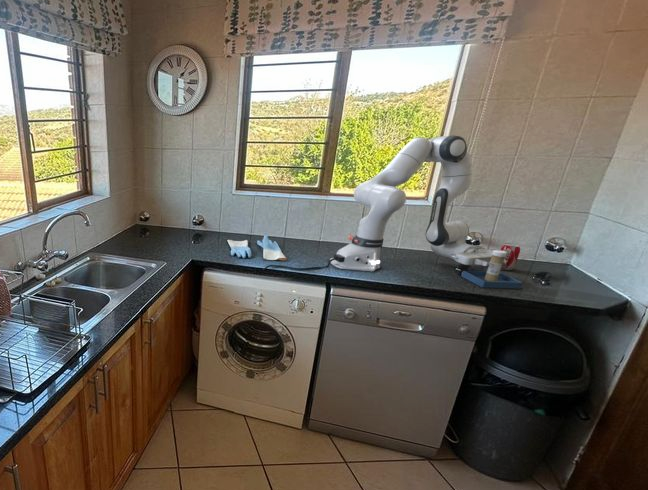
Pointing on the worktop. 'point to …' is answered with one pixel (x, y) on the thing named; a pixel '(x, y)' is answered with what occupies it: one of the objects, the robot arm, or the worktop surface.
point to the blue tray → (501, 282)
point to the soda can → (510, 255)
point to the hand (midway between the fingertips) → (496, 263)
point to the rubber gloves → (269, 248)
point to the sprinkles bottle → (495, 265)
